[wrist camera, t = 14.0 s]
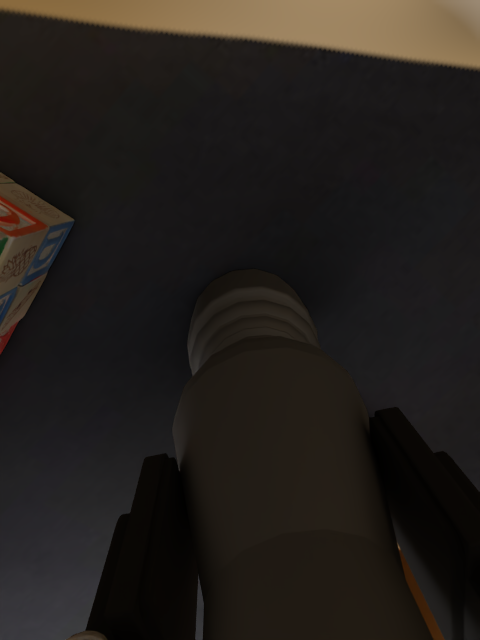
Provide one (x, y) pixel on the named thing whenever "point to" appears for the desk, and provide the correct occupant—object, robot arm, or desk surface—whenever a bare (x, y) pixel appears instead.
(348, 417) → the candle holder
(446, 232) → the desk surface
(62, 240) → the stack of blocks
